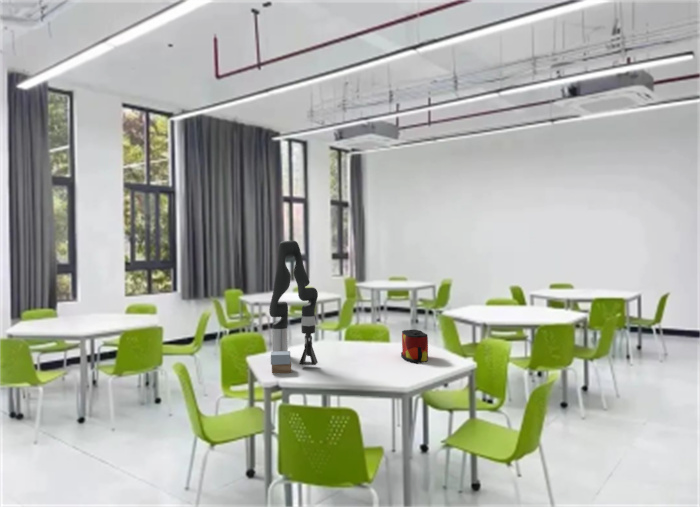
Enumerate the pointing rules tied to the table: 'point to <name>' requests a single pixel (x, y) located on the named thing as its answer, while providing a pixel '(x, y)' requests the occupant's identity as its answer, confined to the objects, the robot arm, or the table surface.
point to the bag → (414, 346)
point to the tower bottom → (281, 368)
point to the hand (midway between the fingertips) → (308, 354)
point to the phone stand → (313, 357)
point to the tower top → (280, 357)
